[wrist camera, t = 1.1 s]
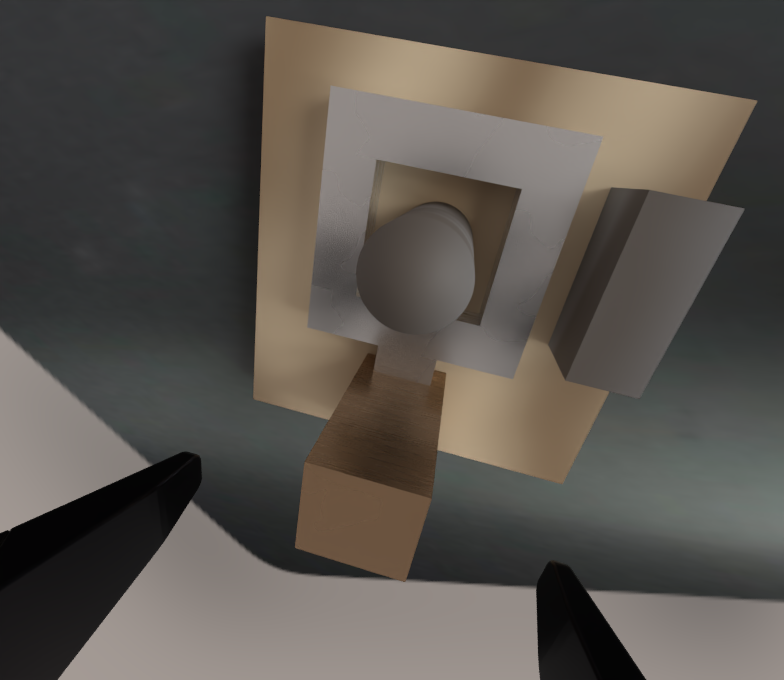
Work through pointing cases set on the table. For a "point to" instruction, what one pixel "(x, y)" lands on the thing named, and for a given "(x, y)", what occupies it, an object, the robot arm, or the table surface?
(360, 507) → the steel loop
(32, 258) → the table surface
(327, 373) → the maple peg board
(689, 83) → the table surface
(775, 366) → the table surface
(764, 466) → the table surface
